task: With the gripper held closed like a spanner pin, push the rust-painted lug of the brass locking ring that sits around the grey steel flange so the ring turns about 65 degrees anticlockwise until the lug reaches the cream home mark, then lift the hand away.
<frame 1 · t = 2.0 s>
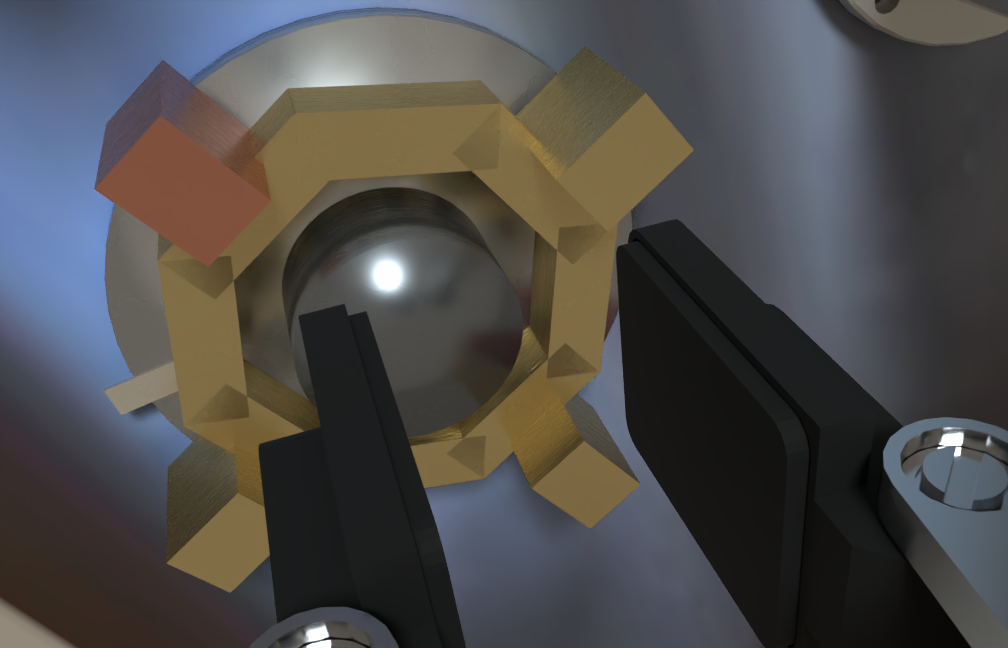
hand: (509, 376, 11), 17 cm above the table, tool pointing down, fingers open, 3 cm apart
flange: (383, 269, 30), on the table
locking ring: (404, 324, 27), point 3 cm above the table, hinge at 0.0°
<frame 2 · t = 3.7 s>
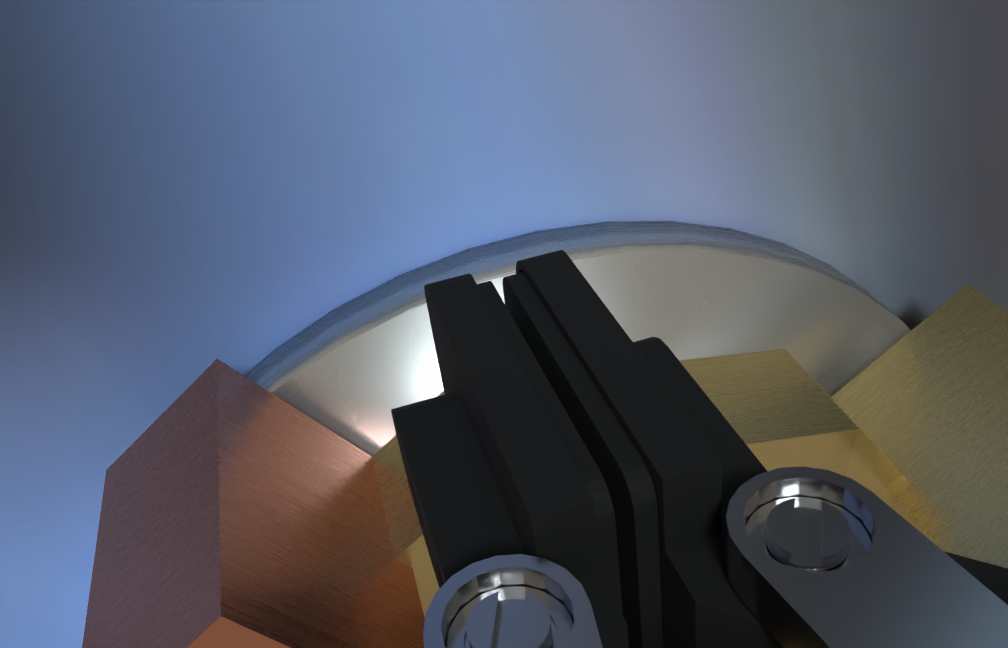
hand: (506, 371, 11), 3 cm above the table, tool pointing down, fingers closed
flange: (561, 601, 18), on the table
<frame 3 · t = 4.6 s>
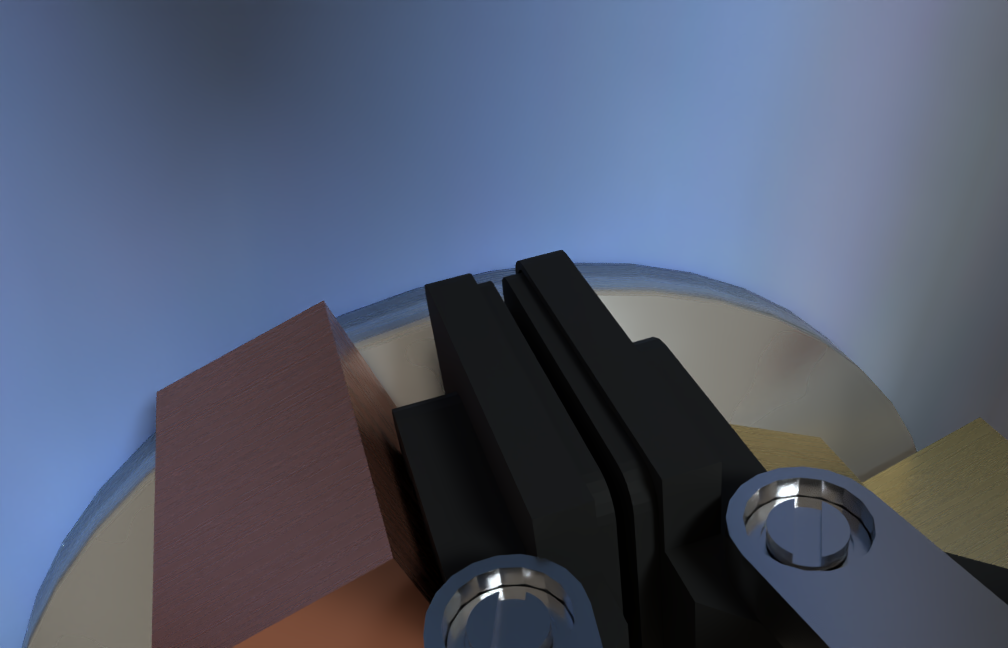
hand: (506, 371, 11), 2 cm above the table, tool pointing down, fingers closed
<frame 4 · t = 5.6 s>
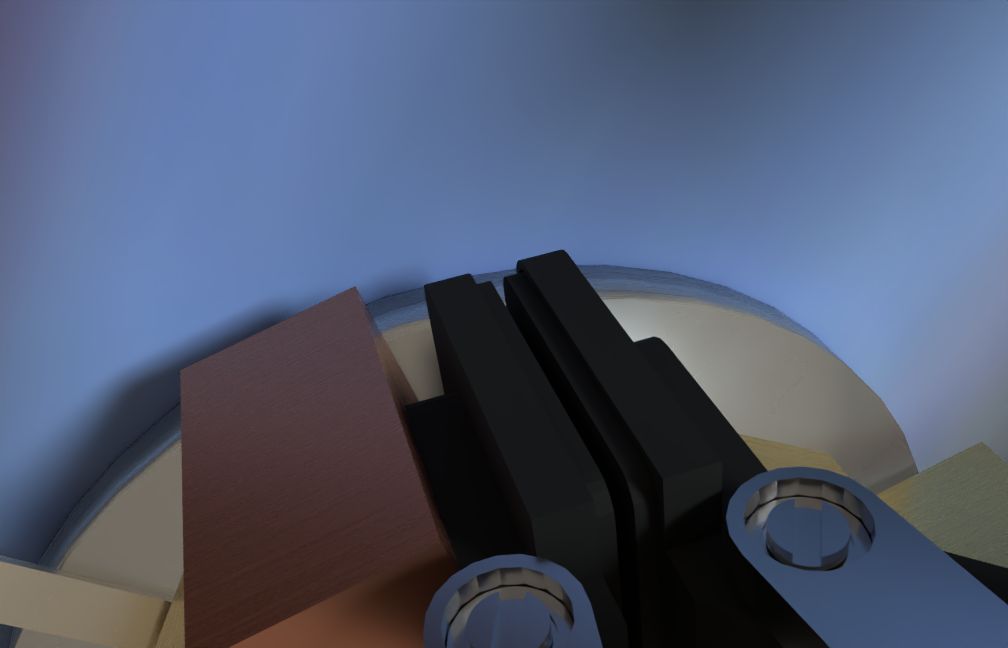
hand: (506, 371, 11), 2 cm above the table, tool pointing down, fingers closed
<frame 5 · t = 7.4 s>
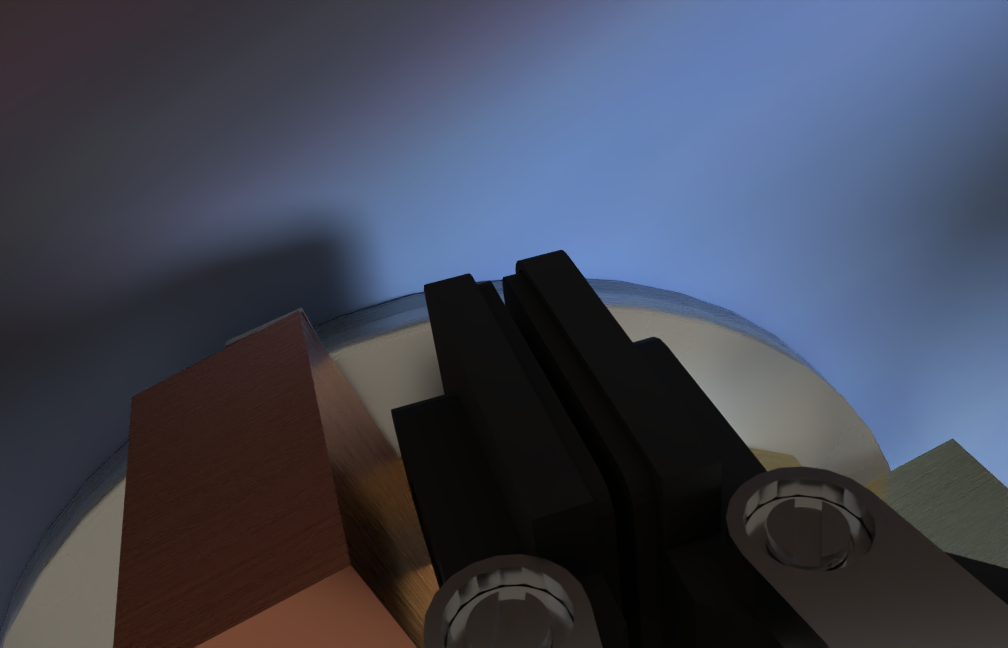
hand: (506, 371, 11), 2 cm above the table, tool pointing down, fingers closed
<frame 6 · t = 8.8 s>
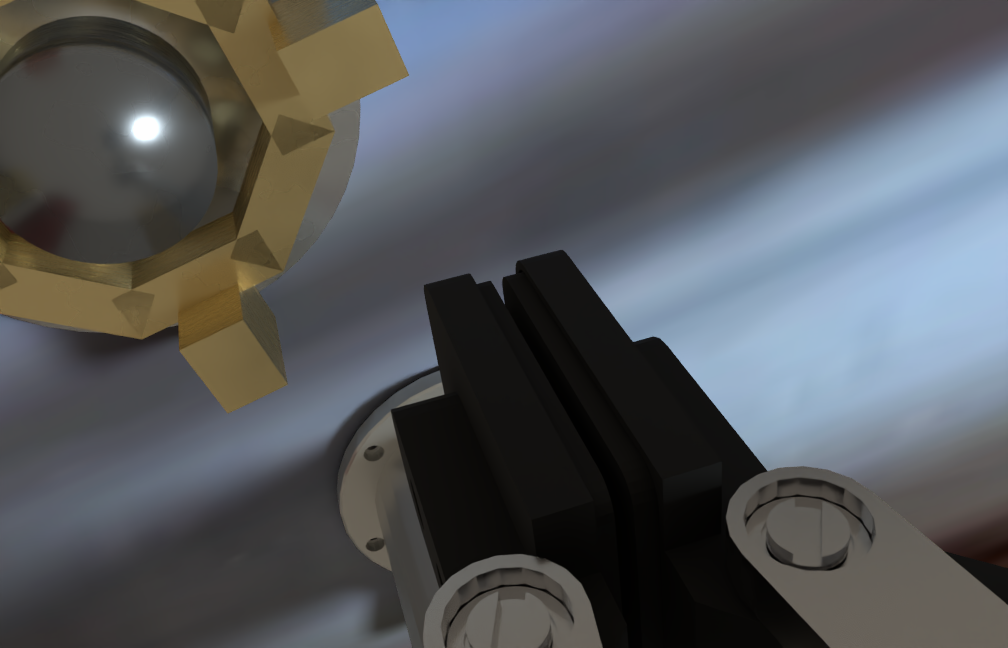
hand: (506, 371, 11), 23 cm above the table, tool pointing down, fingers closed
flange: (106, 107, 30), on the table
locking ring: (101, 150, 28), point 3 cm above the table, hinge at 68.8°
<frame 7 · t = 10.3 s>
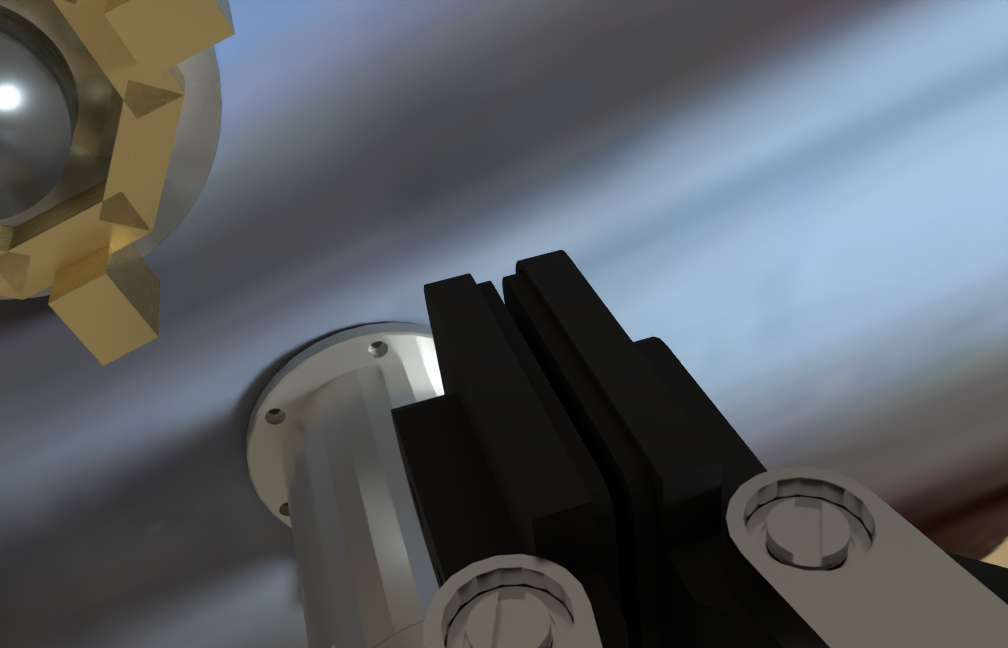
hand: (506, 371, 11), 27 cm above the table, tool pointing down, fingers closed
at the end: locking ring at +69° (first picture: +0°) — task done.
